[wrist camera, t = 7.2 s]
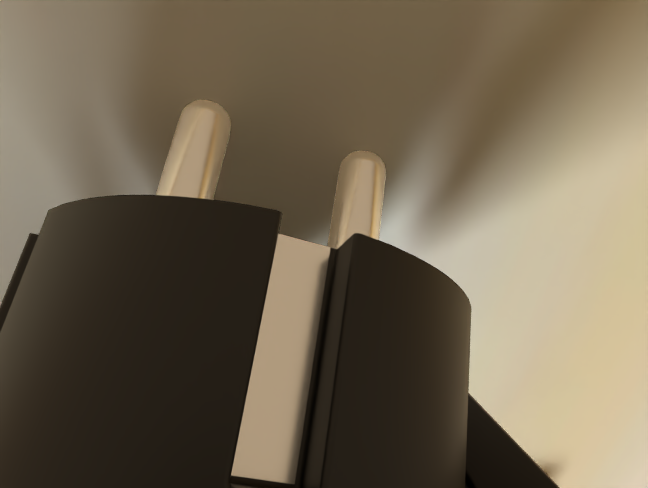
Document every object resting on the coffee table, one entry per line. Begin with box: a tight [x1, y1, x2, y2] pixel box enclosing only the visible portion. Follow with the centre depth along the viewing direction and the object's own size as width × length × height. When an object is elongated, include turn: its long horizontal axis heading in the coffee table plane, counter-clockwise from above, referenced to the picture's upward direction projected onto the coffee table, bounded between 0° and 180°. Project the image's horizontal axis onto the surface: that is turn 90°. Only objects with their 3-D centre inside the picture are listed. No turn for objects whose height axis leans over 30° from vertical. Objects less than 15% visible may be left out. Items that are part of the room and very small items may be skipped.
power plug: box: [0, 99, 471, 488], centre depth 9 cm, size 6×8×12 cm
